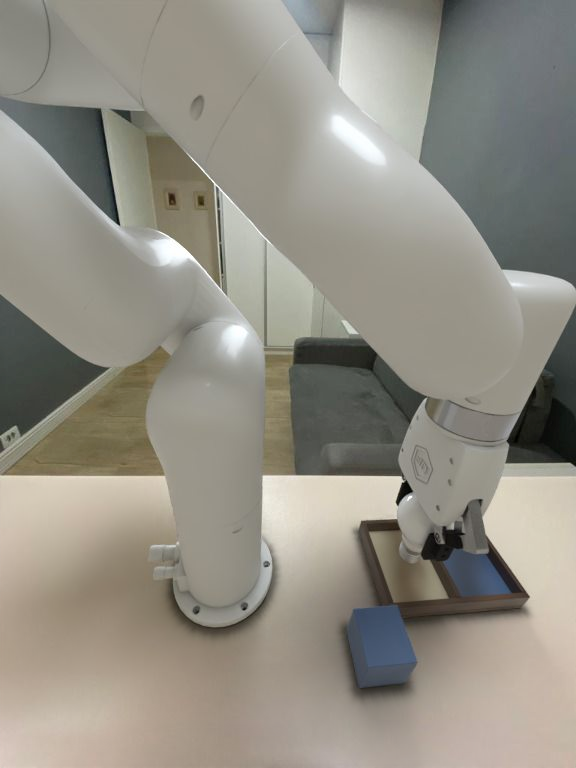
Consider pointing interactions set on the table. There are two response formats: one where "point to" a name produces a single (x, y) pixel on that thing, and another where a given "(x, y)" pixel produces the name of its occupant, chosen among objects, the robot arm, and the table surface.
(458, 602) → the sorting tray
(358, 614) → the block
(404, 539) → the lightbulb
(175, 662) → the table surface
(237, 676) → the table surface
